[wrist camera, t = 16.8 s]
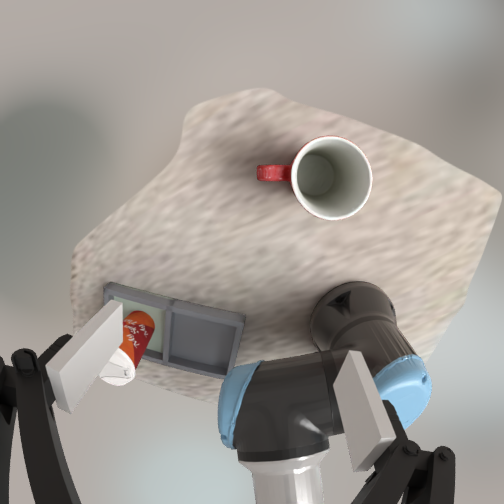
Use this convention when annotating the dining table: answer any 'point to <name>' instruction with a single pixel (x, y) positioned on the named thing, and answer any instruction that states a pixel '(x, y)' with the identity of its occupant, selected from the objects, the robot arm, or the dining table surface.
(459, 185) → the dining table surface
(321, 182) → the mug
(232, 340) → the cup carrier
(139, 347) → the paper cup
